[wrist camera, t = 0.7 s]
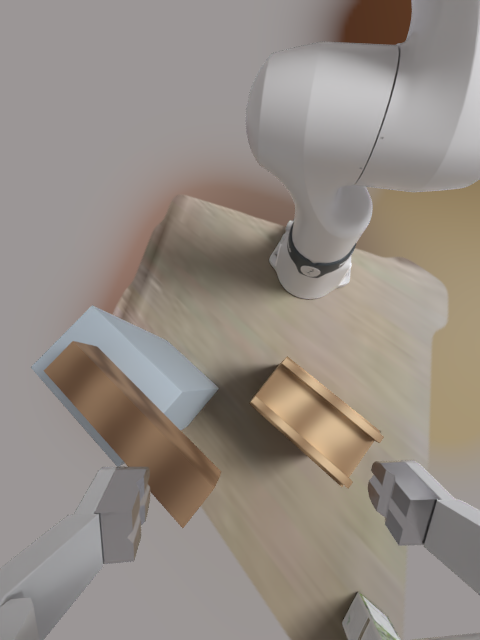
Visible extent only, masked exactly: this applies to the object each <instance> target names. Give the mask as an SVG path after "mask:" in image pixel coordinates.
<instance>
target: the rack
mask: <svg viewBox="0 0 480 640" xmlns="http://www.w3.org/2000/svg"><path fill="white" fill-rule="evenodd" d="M249 404H250V405H251V406H252V407H253V408H254V409H256V410H257V411H258V412H259V413H260V414H261V415H262V416H263V417H264V418H266V419H267V420H268V421H269V422H270V423H271V424H272V425H273V426H275V427H276V428H277V429H278V430H279V431H280V432H281V433H282V434H283V435H285V436H286V437H287V438H288V439H289V440H290V441H291V442H292V443H293V444H295V445H296V446H297V447H298V448H299V449H300V450H301V451H302V452H303V453H305V454H306V455H307V456H308V457H309V458H310V459H311V460H312V461H313V462H315V463H316V464H317V465H318V466H319V467H320V468H321V469H322V470H323V471H325V472H326V473H327V474H328V475H329V476H330V477H331V478H332V479H333V480H335V481H336V482H337V483H338V484H339V485H340V486H341V487H343V485H345V486H346V487H347V488H349V487H350V485H351V484H352V483H353V482H352V481H351V480H350V478H349V477H350V475H351V474H352V472H353V471H354V469H355V468H356V467H357V465H358V464H359V462H360V461H361V459H362V458H363V456H364V455H365V454H366V452H367V451H368V449H369V448H370V446H371V445H372V443H373V442H374V441H376V442H378V443H380V442H381V441H382V439H383V438H384V437H383V436H382V435H381V434H380V431H379V430H378V429H377V428H375V427H374V426H373V425H372V424H370V423H369V422H368V421H367V420H366V419H364V418H363V417H362V416H361V415H359V414H358V413H357V412H356V411H354V410H353V409H352V408H351V407H349V406H348V405H347V404H346V403H344V402H343V401H342V400H341V399H340V398H338V397H337V396H336V395H335V394H333V393H332V392H331V391H330V390H328V389H327V388H326V387H325V386H323V385H322V384H321V383H320V382H318V381H317V380H316V379H315V378H314V377H312V376H311V375H310V374H309V373H307V372H306V371H305V370H304V369H302V368H301V367H300V366H299V365H297V364H296V363H295V362H294V361H292V360H291V359H290V358H289V357H288V356H287V357H286V358H285V359H284V360H283V361H282V362H281V363H280V364H279V365H278V366H277V368H276V369H275V370H274V371H273V373H272V374H271V375H270V376H269V378H268V379H267V380H266V381H265V383H264V384H263V385H262V386H261V388H260V389H259V390H258V391H257V393H256V394H255V395H254V396H253V397H252V399H251V401H250V403H249Z"/></svg>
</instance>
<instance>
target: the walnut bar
mask: <svg viewBox="0 0 480 640" xmlns="http://www.w3.org/2000/svg"><path fill="white" fill-rule="evenodd" d="M44 372H45V373H46V374H47V375H48V376H49V378H50V379H51V380H52V381H53V382H54V383H55V384H56V385H57V387H58V388H59V389H60V390H61V391H62V392H63V393H64V394H65V396H66V397H67V398H68V399H69V400H70V401H71V402H72V404H73V405H74V406H75V407H76V408H77V409H78V410H79V411H80V413H81V414H82V415H83V416H84V417H85V418H86V419H87V421H88V422H89V423H90V424H91V425H92V426H93V427H94V428H95V430H96V431H97V432H98V433H99V434H100V435H101V436H102V437H103V439H104V440H105V441H106V442H107V443H108V444H109V445H110V447H111V448H112V449H113V450H114V451H115V452H116V453H117V454H118V456H119V457H120V458H121V459H122V460H123V461H124V462H125V463H126V465H127V466H128V467H149V470H150V477H149V481H148V485H149V486H150V492H151V493H152V494H153V495H154V496H155V497H156V499H157V500H158V501H159V502H160V503H161V504H162V505H163V506H164V508H165V509H166V510H167V511H168V512H169V513H170V514H171V516H172V517H173V518H174V519H175V520H176V521H177V522H178V523H179V524H180V526H181V527H182V528H184V526H185V525H186V524H187V523H188V521H189V520H190V519H191V517H192V516H193V515H194V513H195V512H196V511H197V510H198V509H199V507H200V506H201V505H202V503H203V502H204V501H205V500H206V498H207V497H208V496H209V494H210V493H211V492H212V491H213V489H214V488H215V486H216V484H217V481H218V479H219V477H220V474H221V471H220V470H219V469H218V468H217V467H216V466H215V465H214V464H213V463H212V462H211V461H210V460H209V459H208V458H207V457H206V456H205V455H204V454H203V453H202V452H201V451H200V450H199V449H198V448H197V447H196V446H195V445H194V444H193V443H192V442H191V441H190V440H189V439H188V438H187V437H186V436H185V435H184V434H183V433H182V432H181V431H180V430H179V429H178V428H177V426H176V425H175V424H174V423H173V422H172V421H171V420H170V419H169V418H168V417H167V416H166V415H165V414H164V413H163V412H162V411H161V410H160V409H159V408H158V407H157V406H156V405H155V404H154V403H153V402H152V401H151V400H150V399H149V398H148V397H147V396H146V395H145V394H144V393H143V392H142V391H141V390H140V389H139V388H138V387H137V386H136V385H135V384H134V383H133V382H132V381H131V380H130V379H129V378H128V377H127V376H126V375H125V374H124V373H123V372H122V371H121V370H120V369H119V368H118V367H117V366H116V365H115V364H114V363H113V362H112V361H111V360H110V359H109V358H108V357H107V356H106V355H105V354H104V353H103V352H102V351H101V350H100V349H99V348H98V347H97V346H93V345H89V344H84V343H80V342H76V341H72V342H71V343H70V344H69V345H68V346H67V347H66V348H65V349H64V350H63V352H62V353H61V354H60V355H59V356H58V357H57V358H56V359H55V360H54V361H53V362H52V363H51V364H50V365H49V366H48V367H47V368H46V369H45V370H44Z"/></svg>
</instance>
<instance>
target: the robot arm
mask: <svg viewBox="0 0 480 640" xmlns="http://www.w3.org/2000/svg"><path fill="white" fill-rule="evenodd" d="M411 1H412V19H411V25H410V29H409V33H408V36H407V39H406V42H404V43H400V44H397V45H381V44H360V43H339V42H317V43H312V44H308V45H303V46H298V47H294V48H290V49H286V50H282V51H279V52H275V53H272V54H271V55H270V56H269V58H268V59H267V60H266V61H265V63H264V64H263V65H262V67H261V68H260V70H259V72H258V74H257V76H256V78H255V80H254V82H253V85H252V88H251V91H250V94H249V98H248V103H247V108H246V132H247V138H248V142H249V145H250V148H251V151H252V153H253V155H254V157H255V159H256V161H257V162H258V163H259V165H260V166H261V167H262V168H264V169H266V170H267V171H268V172H270V173H271V174H272V175H274V176H275V177H276V178H277V179H278V180H279V181H280V182H281V183H282V184H283V185H284V186H285V187H286V189H287V190H288V192H289V193H290V195H291V197H292V198H293V200H294V203H295V218H294V220H293V221H289V223H288V224H287V227H286V232H285V234H283V236H282V239H281V240H280V242H279V243H278V245H277V247H276V248H275V250H274V251H273V253H272V254H271V256H270V259H269V262H270V264H271V265H272V266H273V268H274V269H275V270H276V272H277V275H278V278H279V281H280V283H281V284H282V286H283V287H284V288H285V289H286V290H287V291H288V292H289V293H291V294H292V295H294V296H297V297H299V298H304V299H316V298H320V297H323V296H325V295H327V294H328V293H330V292H331V291H332V290H334V289H335V288H339V287H343V286H346V285H347V284H348V283H349V281H350V269H351V266H352V264H351V255H352V253H353V251H354V248H355V246H356V242H357V240H358V239H359V238H360V236H361V235H362V233H363V232H364V230H365V229H366V227H367V226H368V224H369V222H370V219H371V216H372V200H371V197H370V195H369V192H368V190H367V188H366V187H374V188H383V189H391V190H399V191H408V192H423V191H438V190H448V189H458V188H464V187H467V186H469V185H471V184H473V183H475V182H476V181H478V180H479V179H480V0H411ZM275 255H277V256H275ZM371 471H372V473H373V474H374V476H373V477H372V478H371V479H370V480H369V484H368V492H369V497H370V500H371V502H372V504H373V506H374V508H375V509H376V511H377V512H379V513H380V514H381V515H383V516H384V517H385V525H386V526H387V528H388V529H389V531H390V533H391V534H392V536H393V537H394V539H395V540H396V542H397V543H398V545H424V547H425V548H426V549H427V550H428V551H429V552H430V553H432V554H433V555H434V556H435V557H436V558H437V559H439V560H440V561H441V562H442V563H443V564H444V565H445V566H447V567H448V568H449V569H450V570H451V571H452V572H454V573H455V574H456V575H457V576H458V577H459V578H461V579H462V580H463V581H464V582H465V583H466V584H467V585H469V586H470V587H471V588H472V589H473V590H474V591H475V592H477V593H478V594H479V595H480V510H478V509H476V508H474V507H472V506H470V505H469V504H467V503H465V502H464V501H462V500H460V499H455V498H453V496H452V495H451V494H450V493H449V492H447V490H445V488H444V487H443V486H442V485H441V484H440V483H439V482H437V481H436V480H435V479H434V478H433V477H432V476H431V475H430V474H429V473H428V472H427V471H426V470H425V469H424V468H423V467H422V466H421V465H420V464H419V463H418V462H416V461H414V460H402V461H375V462H374V463H373V465H372V469H371ZM149 477H150V470H149V467H102V468H101V469H100V470H99V471H98V473H97V474H96V476H95V478H94V479H93V481H92V483H91V485H90V486H89V488H88V490H87V492H86V494H85V495H84V497H83V499H82V500H81V502H80V504H79V506H78V508H77V509H76V511H75V513H74V514H73V515H67V516H66V517H65V518H64V519H62V520H61V521H60V522H59V523H57V524H56V525H55V526H53V527H52V528H51V529H50V530H48V531H47V532H46V533H44V534H43V535H42V536H41V537H39V538H38V539H37V540H36V541H34V542H33V543H32V544H31V545H29V546H28V547H27V548H25V549H24V550H23V551H21V552H20V553H19V554H18V555H17V556H15V557H14V558H13V559H11V560H10V561H9V562H8V563H6V564H5V565H4V566H2V567H1V568H0V640H44V639H45V638H46V636H47V635H48V634H49V633H50V631H51V630H52V629H53V628H54V626H55V625H56V624H57V623H58V622H59V620H60V619H61V618H62V617H63V615H64V614H65V613H66V612H67V610H68V609H69V608H70V607H71V605H72V604H73V603H74V602H75V601H76V599H77V598H78V597H79V596H80V594H81V593H82V592H83V591H84V589H85V588H86V587H87V585H89V583H90V582H91V581H92V580H93V578H94V577H95V576H96V574H97V573H98V572H99V571H100V570H101V568H102V567H103V564H108V563H109V564H110V563H121V562H131V561H134V560H135V556H136V553H137V549H138V545H139V542H140V539H141V525H142V524H143V523H144V522H145V521H146V517H147V513H148V508H149V502H150V486H149V485H148V481H149ZM415 640H480V633H474V634H464V635H455V636H445V637H435V638H424V639H415Z"/></svg>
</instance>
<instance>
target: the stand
mask: <svg viewBox="0 0 480 640" xmlns="http://www.w3.org/2000/svg"><path fill="white" fill-rule="evenodd" d="M72 341H76V342H80V343H84V344H89V345H93V346H97V347H98V348H99V349H100V350H101V351H102V352H103V353H104V354H105V355H106V356H107V357H108V358H109V359H110V360H111V361H112V362H113V363H114V364H115V365H116V366H117V367H118V368H119V369H120V370H121V371H122V372H123V373H124V374H125V375H126V376H127V377H128V378H129V379H130V380H131V381H132V382H133V383H134V384H135V385H136V386H137V387H138V388H139V389H140V390H141V391H142V392H143V393H144V394H145V395H146V396H147V397H148V398H149V399H150V400H151V401H152V402H153V403H154V404H155V405H156V406H157V407H158V408H159V409H160V410H161V411H162V412H163V413H164V414H165V415H166V416H167V417H168V418H169V419H170V420H171V421H172V422H173V423H174V424H175V425H176V426H177V428H178V429H179V430H182V429H184V428H185V427H187V426H188V425H189V424H190V423H191V421H192V420H193V419H194V418H195V417H196V415H197V414H198V413H199V412H200V411H201V409H202V408H203V407H204V406H205V405H206V403H207V402H208V401H209V400H210V399H211V398H212V396H213V395H214V394H215V393H216V392H217V390H218V389H219V388H218V387H217V386H216V385H215V384H214V383H213V382H212V381H211V380H210V379H209V378H207V377H206V376H205V375H204V374H203V373H202V372H201V371H200V370H199V369H198V368H197V367H195V366H194V365H193V364H192V363H191V362H190V361H189V360H188V359H187V358H186V357H184V356H183V355H182V354H181V353H180V352H179V351H178V350H177V349H176V348H175V347H174V346H172V345H171V344H170V343H169V342H168V341H167V340H165V339H162V338H160V337H158V336H156V335H154V334H152V333H150V332H148V331H146V330H143V329H141V328H139V327H137V326H135V325H133V324H131V323H129V322H126V321H124V320H122V319H120V318H118V317H116V316H114V315H112V314H109V313H107V312H105V311H103V310H101V309H99V308H96V307H95V306H91V307H90V308H89V309H88V310H87V311H86V312H85V313H84V314H83V315H82V316H81V317H80V318H79V319H78V320H77V321H76V322H75V323H74V324H73V325H72V326H71V327H70V328H69V329H68V330H67V331H66V332H65V333H64V334H63V335H62V337H60V338H59V339H58V340H57V341H56V342H55V343H54V344H53V345H52V346H51V348H50V349H48V350H47V351H46V352H45V353H44V355H42V357H40V359H38V361H37V362H36V363H35V364H34V365H33V366H32V367H31V368H32V369H33V370H34V372H35V373H36V374H37V375H38V376H39V377H40V378H41V380H42V381H43V382H44V383H45V384H46V385H47V386H48V388H49V389H50V390H51V391H52V392H53V393H54V394H55V396H56V397H57V398H58V399H59V400H60V401H61V402H62V404H63V405H64V406H65V407H66V408H67V409H68V411H69V412H70V413H71V414H72V415H73V416H74V418H75V419H76V420H77V421H78V422H79V423H80V424H81V425H82V427H83V428H84V429H85V430H86V431H87V432H88V434H89V435H90V436H91V437H92V438H93V439H94V440H95V442H96V443H97V444H98V445H99V446H100V447H101V448H102V450H103V451H104V452H105V453H106V454H107V455H108V457H109V458H110V459H111V460H112V461H113V462H114V463H115V465H116V466H117V467H119V466H120V465H122V464H124V463H125V462H124V461H123V460H122V459H121V458H120V457H119V456H118V454H117V453H116V452H115V451H114V450H113V449H112V448H111V447H110V445H109V444H108V443H107V442H106V441H105V440H104V439H103V437H102V436H101V435H100V434H99V433H98V432H97V431H96V430H95V428H94V427H93V426H92V425H91V424H90V423H89V422H88V421H87V419H86V418H85V417H84V416H83V415H82V414H81V413H80V411H79V410H78V409H77V408H76V407H75V406H74V405H73V404H72V402H71V401H70V400H69V399H68V398H67V397H66V396H65V394H64V393H63V392H62V391H61V390H60V389H59V388H58V387H57V385H56V384H55V383H54V382H53V381H52V380H51V379H50V378H49V376H48V375H47V374H46V373H45V372H44V370H45V369H46V368H47V367H48V366H49V365H50V364H51V363H52V362H53V361H54V360H55V359H56V358H57V357H58V356H59V355H60V354H61V353H62V352H63V350H64V349H65V348H66V347H67V346H68V345H69V344H70V343H71V342H72Z"/></svg>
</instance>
